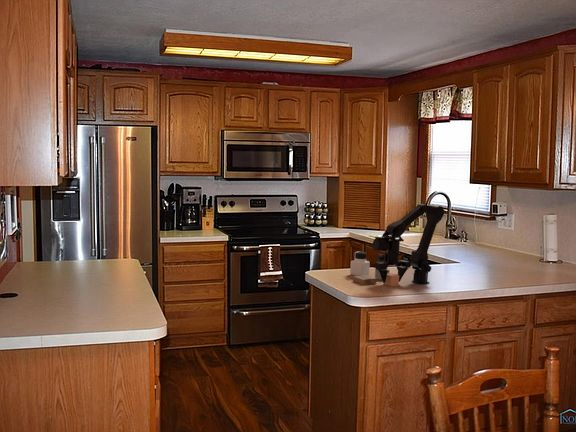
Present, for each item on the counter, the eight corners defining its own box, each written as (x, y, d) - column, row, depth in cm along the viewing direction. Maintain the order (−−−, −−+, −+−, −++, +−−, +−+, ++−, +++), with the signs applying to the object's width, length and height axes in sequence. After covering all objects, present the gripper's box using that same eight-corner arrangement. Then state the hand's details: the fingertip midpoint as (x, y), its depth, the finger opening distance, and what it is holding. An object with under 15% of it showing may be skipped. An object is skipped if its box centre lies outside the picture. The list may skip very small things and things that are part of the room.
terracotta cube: (391, 283, 298) (392, 273, 297) (398, 285, 293) (399, 275, 293) (383, 284, 295) (384, 273, 294) (390, 286, 291) (391, 275, 290)
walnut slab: (366, 281, 301) (366, 275, 301) (376, 284, 295) (376, 278, 294) (353, 282, 297) (353, 276, 297) (362, 285, 291) (363, 279, 290)
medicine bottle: (369, 275, 314) (370, 252, 313) (361, 276, 309) (362, 253, 308) (358, 272, 319) (359, 250, 318) (349, 274, 314) (351, 251, 313)
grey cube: (382, 277, 310) (383, 268, 309) (388, 279, 306) (389, 269, 305) (374, 278, 307) (375, 268, 307) (381, 280, 303) (381, 270, 302)
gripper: (397, 247, 304) (395, 277, 306) (367, 248, 295) (365, 280, 296) (412, 250, 294) (410, 282, 296) (382, 252, 285) (380, 285, 287)
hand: (391, 282), depth 294 cm, fingers open, 9 cm apart
